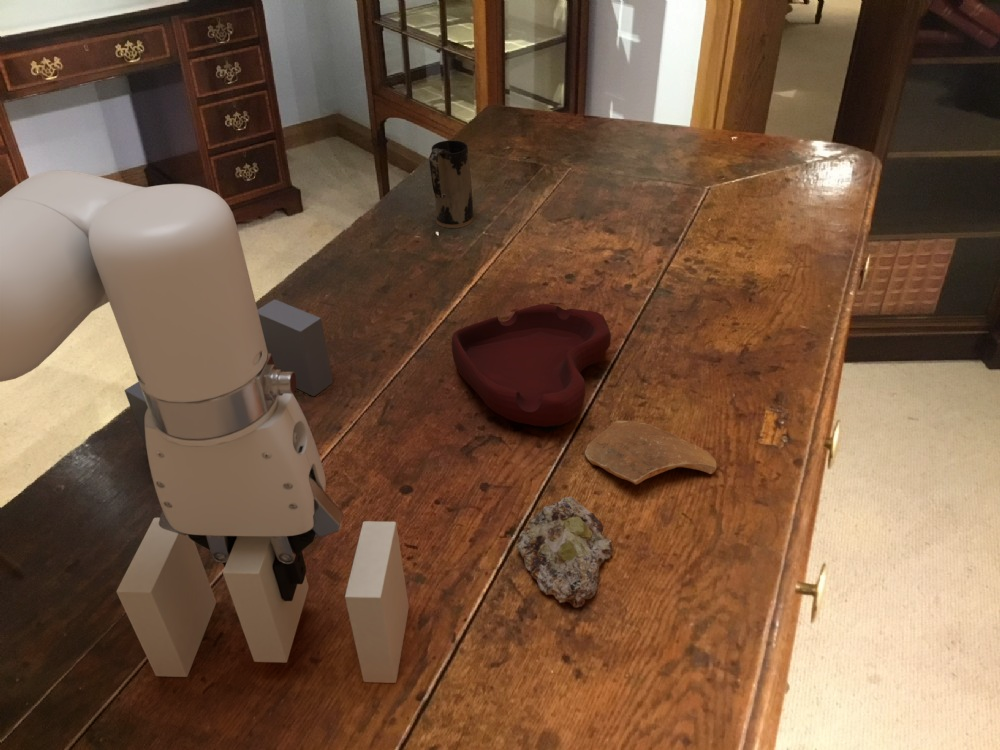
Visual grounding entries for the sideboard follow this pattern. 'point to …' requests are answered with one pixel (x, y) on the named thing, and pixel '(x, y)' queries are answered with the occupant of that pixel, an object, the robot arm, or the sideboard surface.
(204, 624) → the white books
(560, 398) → the ashtray
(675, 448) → the pottery shard
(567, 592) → the mineral rock
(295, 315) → the grey books
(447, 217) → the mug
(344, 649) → the sideboard surface
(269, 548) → the white book
